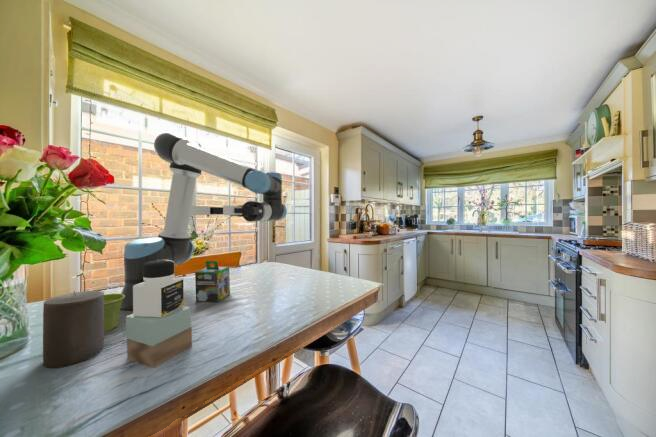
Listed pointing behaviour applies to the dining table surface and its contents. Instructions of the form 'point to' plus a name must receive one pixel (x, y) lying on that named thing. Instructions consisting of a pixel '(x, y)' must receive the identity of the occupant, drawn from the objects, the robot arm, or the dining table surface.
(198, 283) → the chalk box
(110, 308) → the plant pot
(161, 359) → the tower base block
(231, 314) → the dining table surface
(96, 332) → the pillar candle
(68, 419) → the dining table surface
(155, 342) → the tower top block
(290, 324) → the dining table surface
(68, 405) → the dining table surface
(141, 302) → the medicine bottle
